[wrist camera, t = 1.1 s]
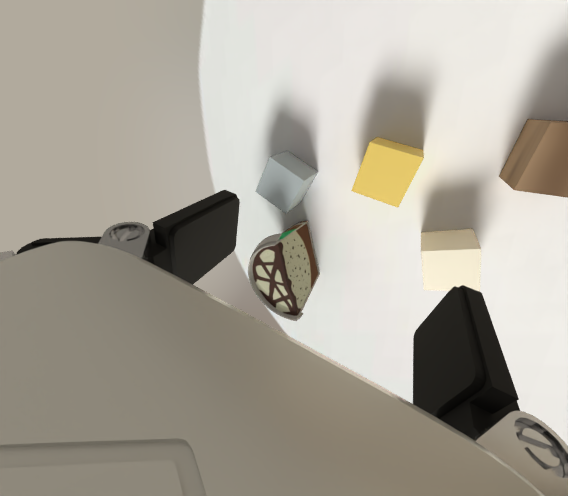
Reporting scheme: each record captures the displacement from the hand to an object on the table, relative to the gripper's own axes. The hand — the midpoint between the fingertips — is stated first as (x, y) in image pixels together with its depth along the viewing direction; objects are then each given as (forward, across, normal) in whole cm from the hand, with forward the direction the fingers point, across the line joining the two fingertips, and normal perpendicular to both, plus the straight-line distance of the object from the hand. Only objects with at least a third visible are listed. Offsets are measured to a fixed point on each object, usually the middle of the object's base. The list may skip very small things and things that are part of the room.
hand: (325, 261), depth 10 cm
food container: (+23, +7, +16) cm, 29 cm away
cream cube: (+22, -11, +7) cm, 26 cm away
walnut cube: (+22, -13, -5) cm, 26 cm away
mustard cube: (+22, -1, 0) cm, 23 cm away
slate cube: (+23, +10, +5) cm, 25 cm away
